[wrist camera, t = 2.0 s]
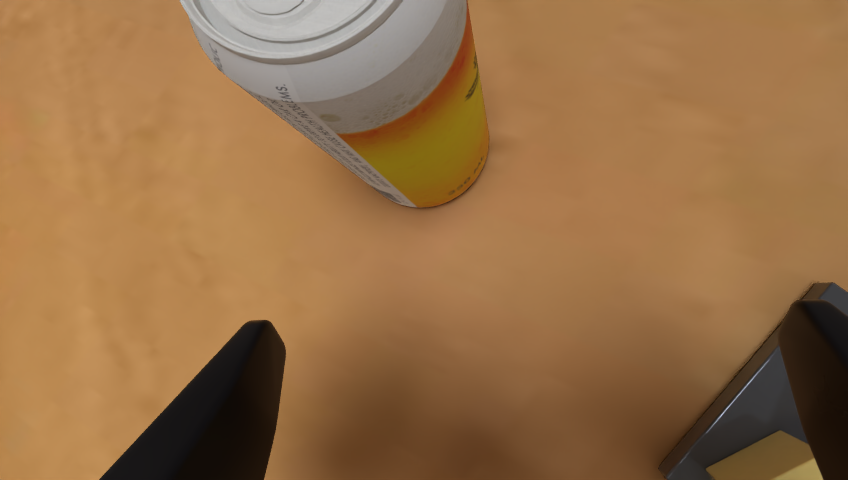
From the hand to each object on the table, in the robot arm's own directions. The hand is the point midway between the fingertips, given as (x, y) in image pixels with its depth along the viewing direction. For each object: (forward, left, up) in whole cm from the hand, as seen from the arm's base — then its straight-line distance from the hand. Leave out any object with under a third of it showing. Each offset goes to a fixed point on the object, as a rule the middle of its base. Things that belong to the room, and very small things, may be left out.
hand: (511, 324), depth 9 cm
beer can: (+3, +8, -14) cm, 17 cm away
